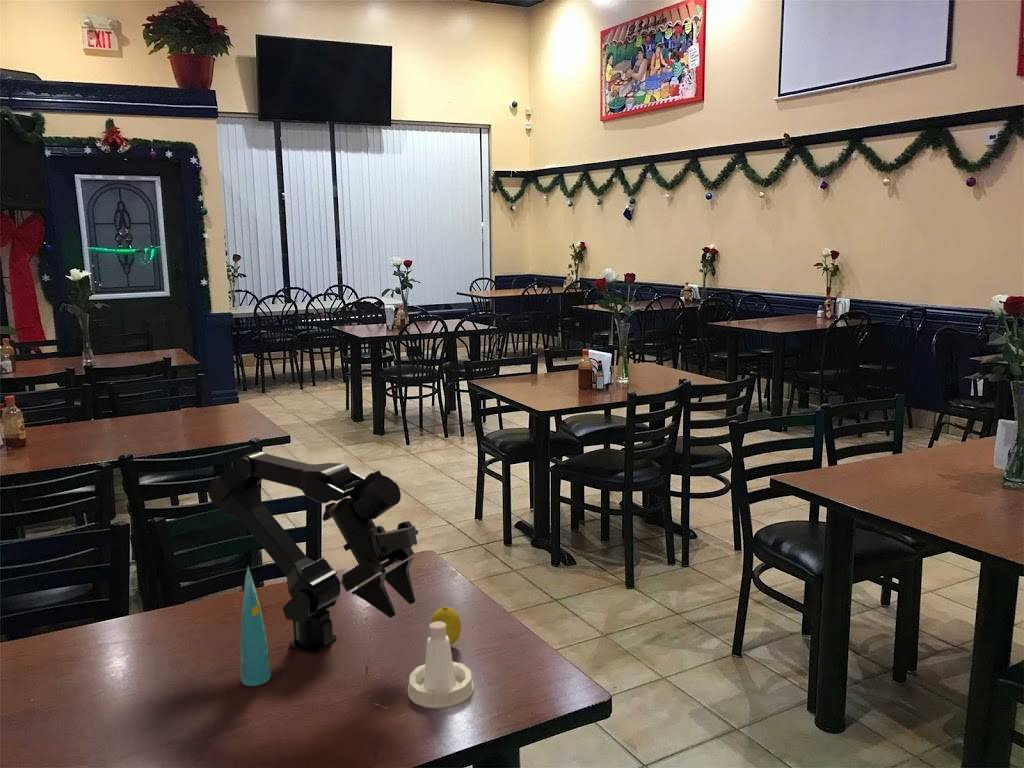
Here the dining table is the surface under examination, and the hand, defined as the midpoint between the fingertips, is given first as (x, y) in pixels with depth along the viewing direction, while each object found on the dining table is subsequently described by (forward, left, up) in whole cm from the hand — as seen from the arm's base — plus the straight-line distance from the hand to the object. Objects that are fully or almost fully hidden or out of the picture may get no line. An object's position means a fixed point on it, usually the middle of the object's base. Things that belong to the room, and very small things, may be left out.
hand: (403, 609), depth 139 cm
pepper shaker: (+8, -3, -11) cm, 14 cm away
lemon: (+3, +10, -12) cm, 15 cm away
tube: (-22, -12, -12) cm, 28 cm away
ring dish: (+9, -3, -11) cm, 15 cm away
